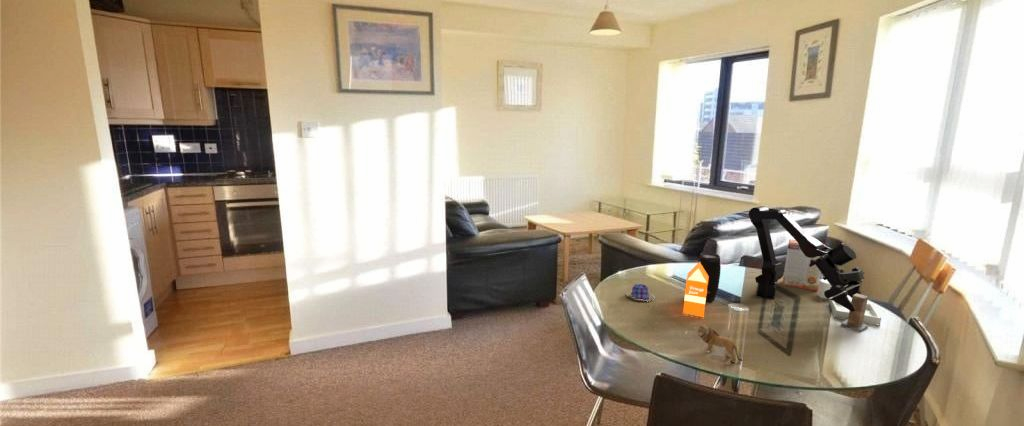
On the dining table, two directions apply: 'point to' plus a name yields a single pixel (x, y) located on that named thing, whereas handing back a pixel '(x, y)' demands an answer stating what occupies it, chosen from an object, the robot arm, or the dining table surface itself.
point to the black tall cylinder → (711, 273)
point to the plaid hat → (640, 292)
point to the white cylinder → (823, 287)
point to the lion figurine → (717, 340)
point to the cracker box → (800, 269)
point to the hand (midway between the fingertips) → (858, 308)
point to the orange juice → (696, 291)
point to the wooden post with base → (857, 314)
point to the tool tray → (843, 312)
